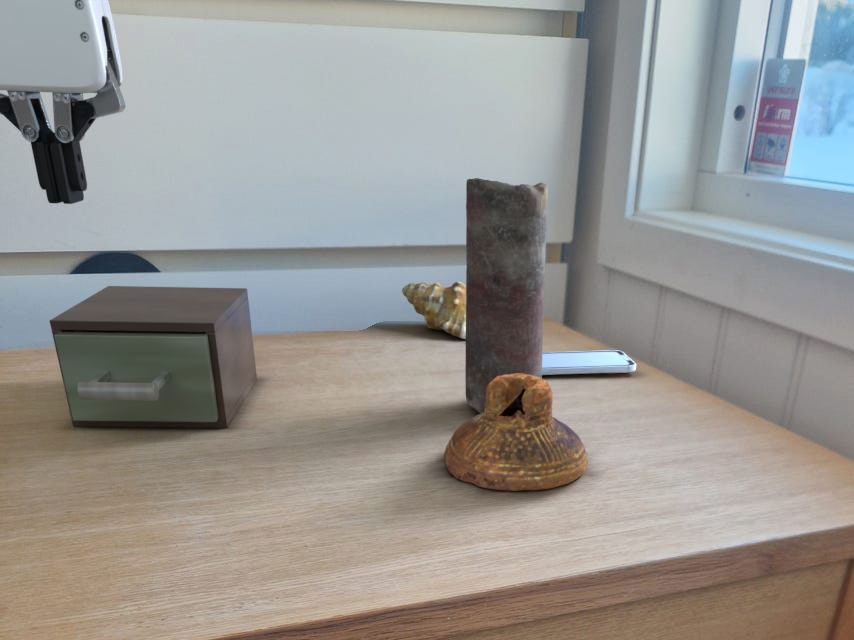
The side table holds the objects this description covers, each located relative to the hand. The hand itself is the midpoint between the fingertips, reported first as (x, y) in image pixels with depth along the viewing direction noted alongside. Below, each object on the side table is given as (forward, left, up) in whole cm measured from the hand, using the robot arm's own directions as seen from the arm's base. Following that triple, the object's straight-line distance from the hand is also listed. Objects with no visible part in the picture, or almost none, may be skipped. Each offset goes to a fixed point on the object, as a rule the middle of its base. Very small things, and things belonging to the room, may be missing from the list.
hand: (66, 201), depth 67 cm
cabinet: (+3, +10, -18) cm, 21 cm away
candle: (+35, +9, -19) cm, 40 cm away
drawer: (+3, +5, -18) cm, 18 cm away
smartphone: (+43, +24, -18) cm, 52 cm away
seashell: (+30, +41, -19) cm, 54 cm away
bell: (+35, -7, -19) cm, 40 cm away
